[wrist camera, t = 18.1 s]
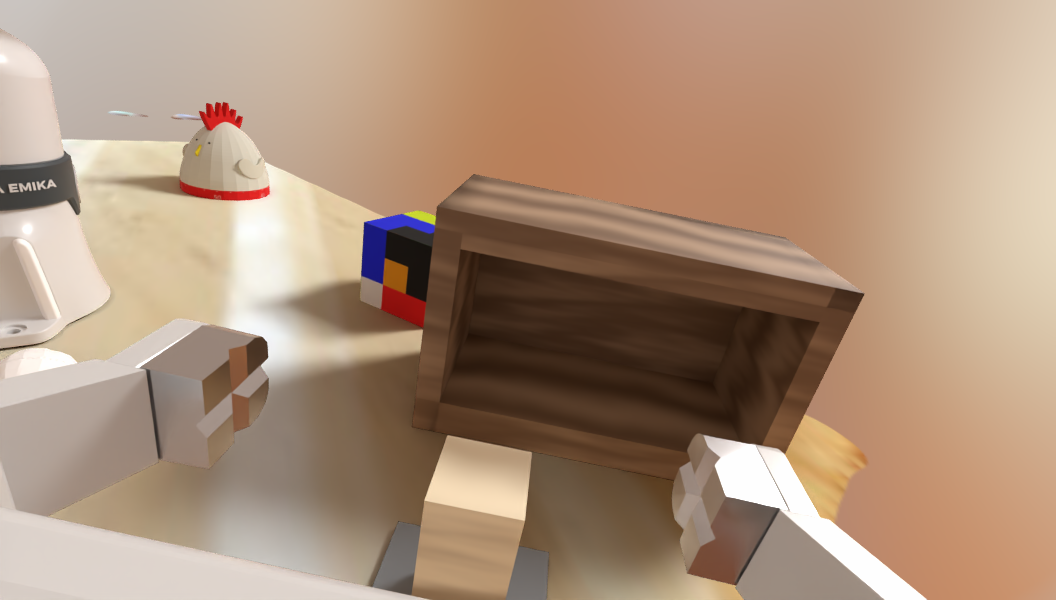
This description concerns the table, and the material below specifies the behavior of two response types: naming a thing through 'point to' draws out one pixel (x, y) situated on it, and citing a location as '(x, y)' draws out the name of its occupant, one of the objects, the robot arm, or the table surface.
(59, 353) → the white animal figurine
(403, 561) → the slate mat
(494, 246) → the brown wooden box
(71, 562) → the robot arm
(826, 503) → the table surface
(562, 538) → the table surface
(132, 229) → the table surface
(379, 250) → the puzzle toy
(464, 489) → the beech block
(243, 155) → the kitchen timer
